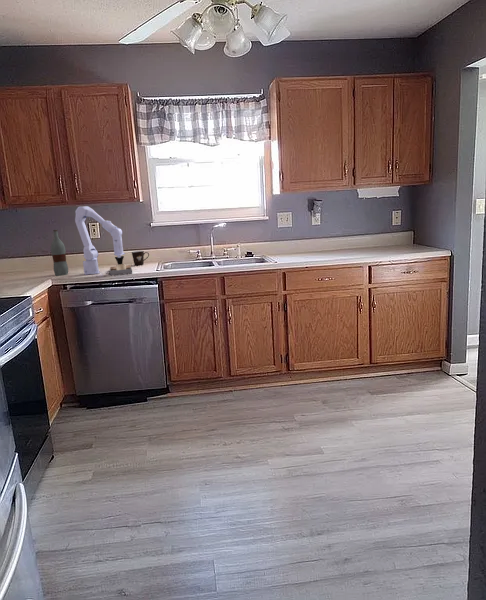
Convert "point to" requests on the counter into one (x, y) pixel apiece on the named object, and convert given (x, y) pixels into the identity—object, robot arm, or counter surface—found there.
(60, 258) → the bottle
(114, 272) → the box
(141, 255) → the coffee mug
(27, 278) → the counter surface
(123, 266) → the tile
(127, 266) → the plate
